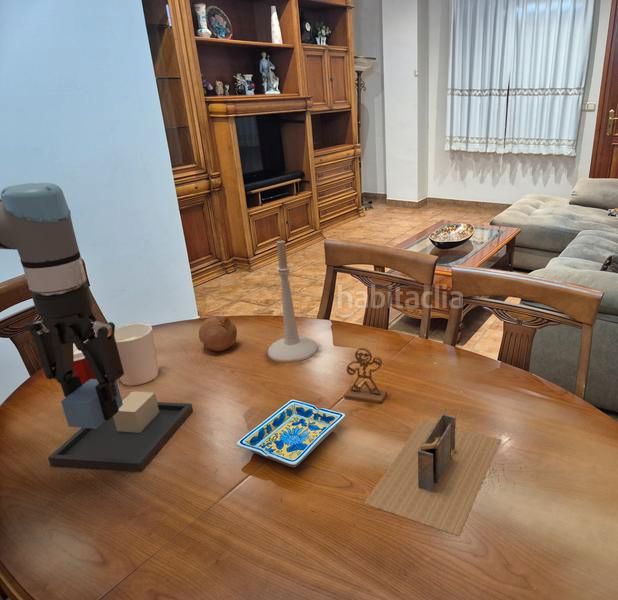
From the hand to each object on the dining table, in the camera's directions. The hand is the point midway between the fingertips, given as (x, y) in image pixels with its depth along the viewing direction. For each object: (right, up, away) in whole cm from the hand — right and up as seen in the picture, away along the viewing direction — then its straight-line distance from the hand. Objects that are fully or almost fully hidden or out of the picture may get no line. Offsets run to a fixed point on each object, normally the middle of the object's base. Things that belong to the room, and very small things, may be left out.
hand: (96, 414), depth 87 cm
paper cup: (-16, -4, +26) cm, 30 cm away
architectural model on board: (+59, -11, +4) cm, 60 cm away
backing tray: (-2, -8, +15) cm, 17 cm away
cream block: (-2, -6, +18) cm, 19 cm away
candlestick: (+24, +6, +47) cm, 53 cm away
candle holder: (-11, +1, +36) cm, 38 cm away
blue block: (0, 0, 0) cm, 0 cm away
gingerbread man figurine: (+44, -2, +26) cm, 51 cm away
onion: (+4, +7, +49) cm, 50 cm away
